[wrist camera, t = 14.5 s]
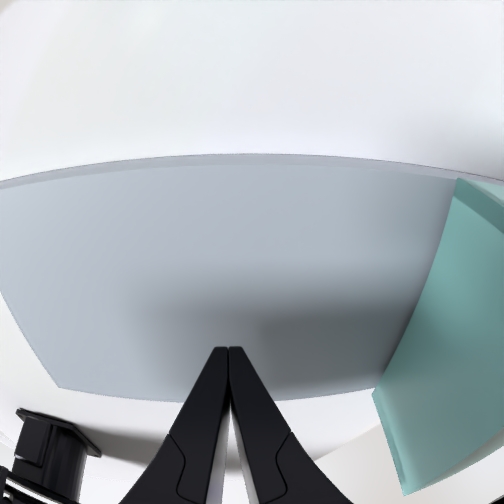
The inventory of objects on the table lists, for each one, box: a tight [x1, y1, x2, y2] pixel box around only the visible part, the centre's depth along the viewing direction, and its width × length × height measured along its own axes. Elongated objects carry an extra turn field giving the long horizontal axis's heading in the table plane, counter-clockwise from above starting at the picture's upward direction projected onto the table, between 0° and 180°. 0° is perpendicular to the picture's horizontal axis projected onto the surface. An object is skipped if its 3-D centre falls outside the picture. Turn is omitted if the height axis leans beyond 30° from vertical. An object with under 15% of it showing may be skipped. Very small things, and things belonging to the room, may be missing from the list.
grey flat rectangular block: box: [0, 154, 504, 403], centre depth 10 cm, size 10×25×3 cm, turn 89°
